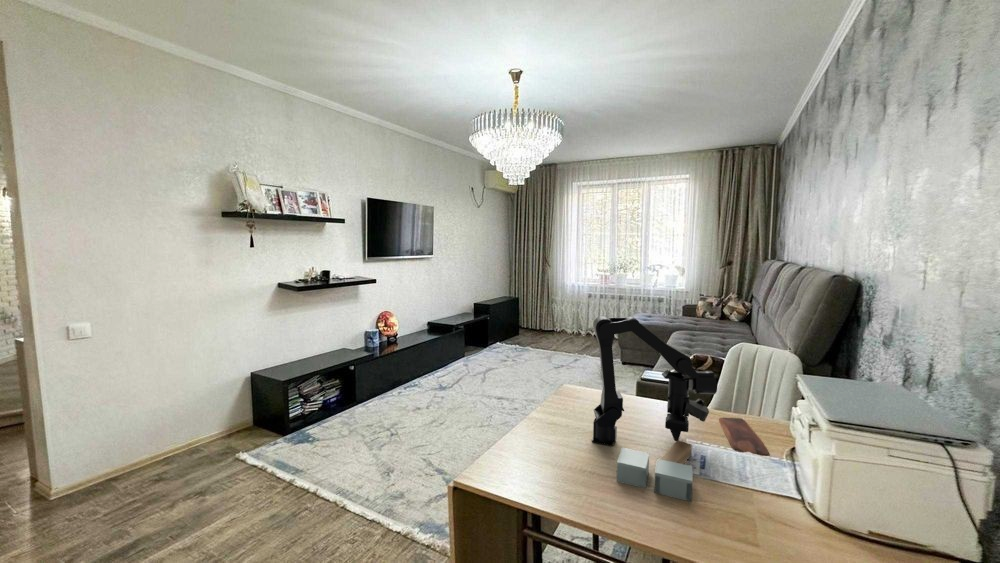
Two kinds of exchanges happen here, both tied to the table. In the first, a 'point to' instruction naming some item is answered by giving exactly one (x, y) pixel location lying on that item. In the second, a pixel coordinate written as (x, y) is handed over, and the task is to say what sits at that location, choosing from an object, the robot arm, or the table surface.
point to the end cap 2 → (673, 480)
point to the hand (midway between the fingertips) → (676, 440)
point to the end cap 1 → (633, 467)
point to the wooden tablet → (742, 436)
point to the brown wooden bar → (678, 452)
